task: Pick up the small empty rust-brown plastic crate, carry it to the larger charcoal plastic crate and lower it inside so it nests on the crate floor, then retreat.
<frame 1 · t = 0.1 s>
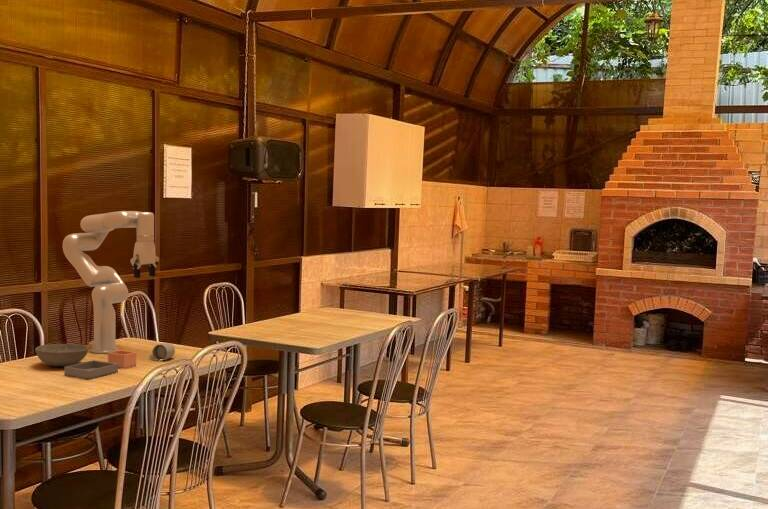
hand: (144, 277, 339), 37 cm above the table, tool pointing down, fingers open, 9 cm apart
ceramic mug: (161, 360, 338), on the table
crate small: (122, 366, 321), on the table
bowl: (62, 365, 319), on the table
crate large: (91, 373, 306), on the table
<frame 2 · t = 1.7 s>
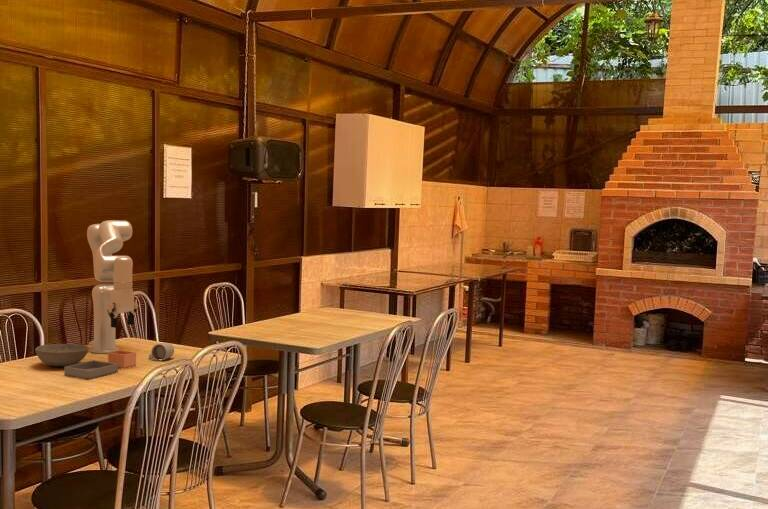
hand: (122, 325, 320), 18 cm above the table, tool pointing down, fingers open, 9 cm apart
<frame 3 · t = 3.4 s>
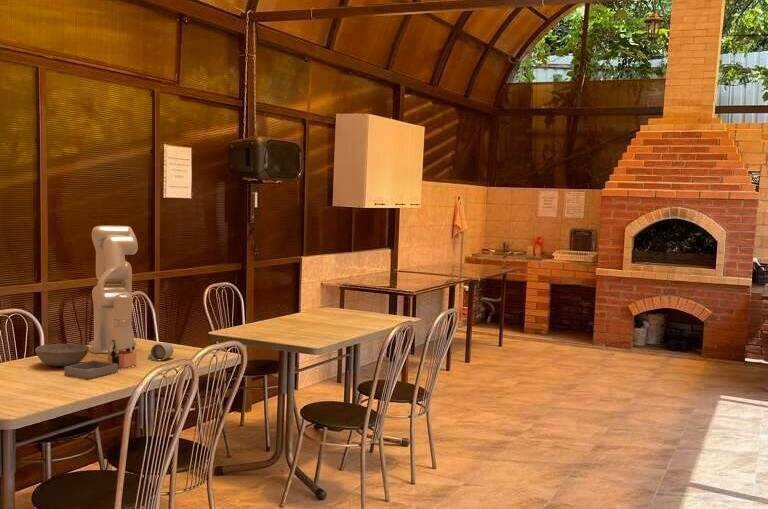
hand: (122, 363, 321), 1 cm above the table, tool pointing down, fingers closed on crate small, 7 cm apart
crate small: (122, 366, 321), on the table, touching gripper
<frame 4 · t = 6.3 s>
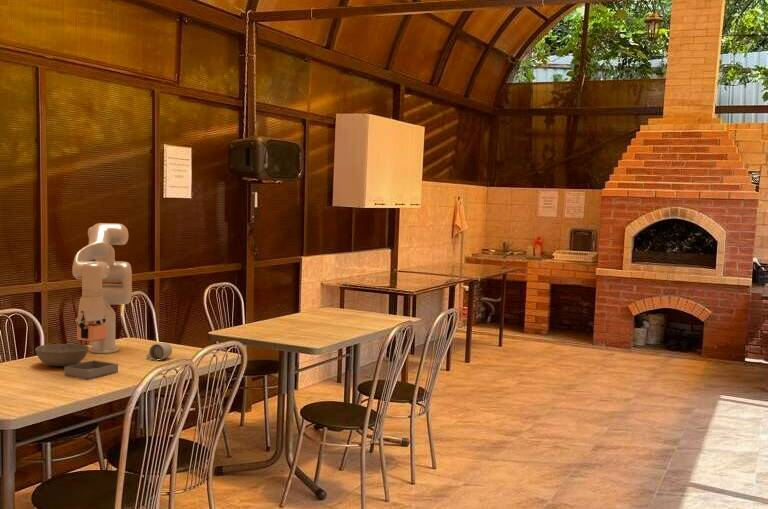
hand: (91, 336, 305), 15 cm above the table, tool pointing down, fingers closed on crate small, 7 cm apart
crate small: (91, 339, 305), point 14 cm above the table, touching gripper
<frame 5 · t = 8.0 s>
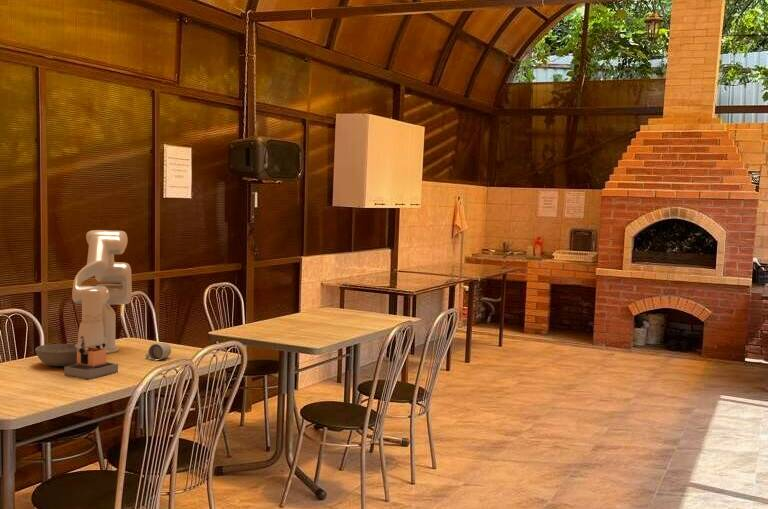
hand: (91, 361, 305), 5 cm above the table, tool pointing down, fingers closed on crate small, 7 cm apart
crate small: (91, 364, 305), point 4 cm above the table, touching gripper
when the fingers open (4 cm above the table, at t = 9.2 s): crate small drops 2 cm, resting on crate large.
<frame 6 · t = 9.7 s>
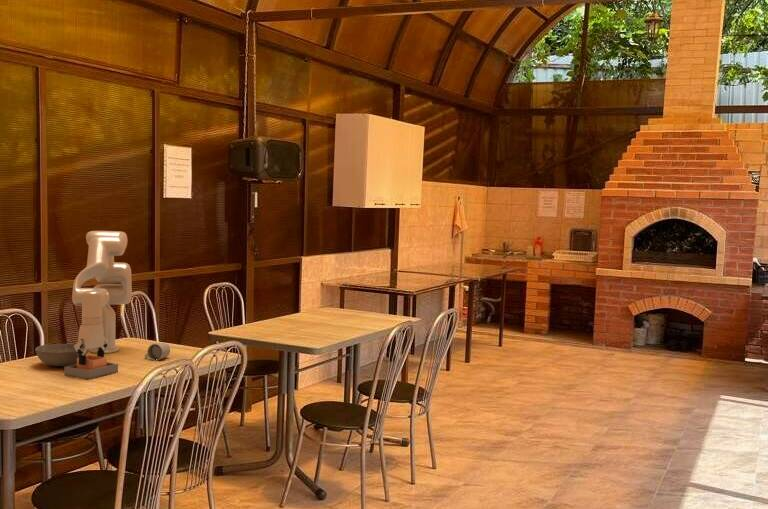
hand: (91, 362, 305), 5 cm above the table, tool pointing down, fingers open, 9 cm apart
crate small: (91, 372, 306), point 1 cm above the table, touching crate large
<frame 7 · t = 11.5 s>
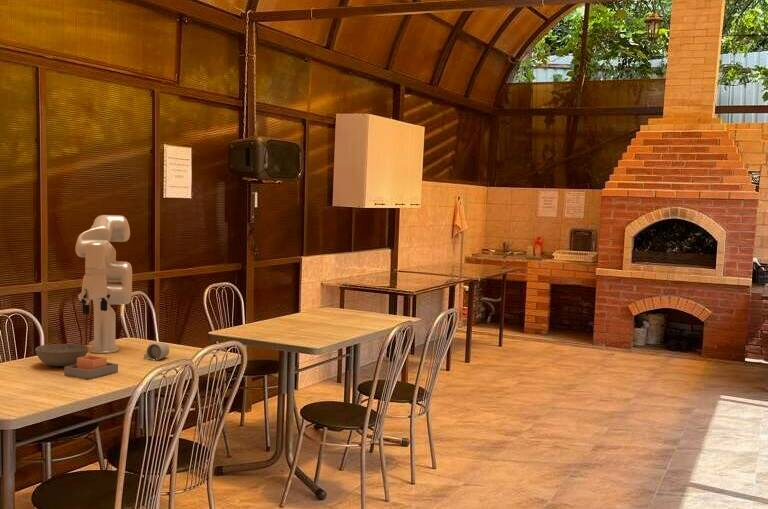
hand: (95, 312, 312), 24 cm above the table, tool pointing down, fingers open, 9 cm apart
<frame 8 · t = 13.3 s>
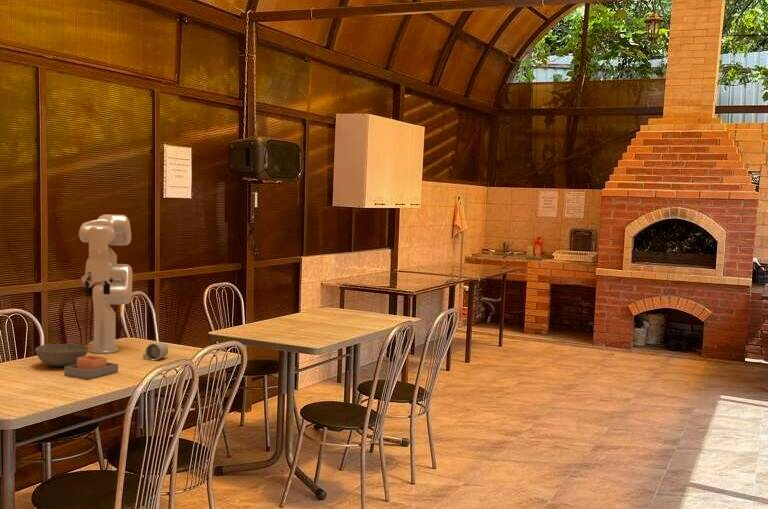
hand: (98, 295, 320), 30 cm above the table, tool pointing down, fingers open, 9 cm apart
at the end: crate small inside the target area on the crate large (0.1 cm from its centre), point 0.6 cm above the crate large's base; crate small tilted 0°; the gripper is holding nothing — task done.
